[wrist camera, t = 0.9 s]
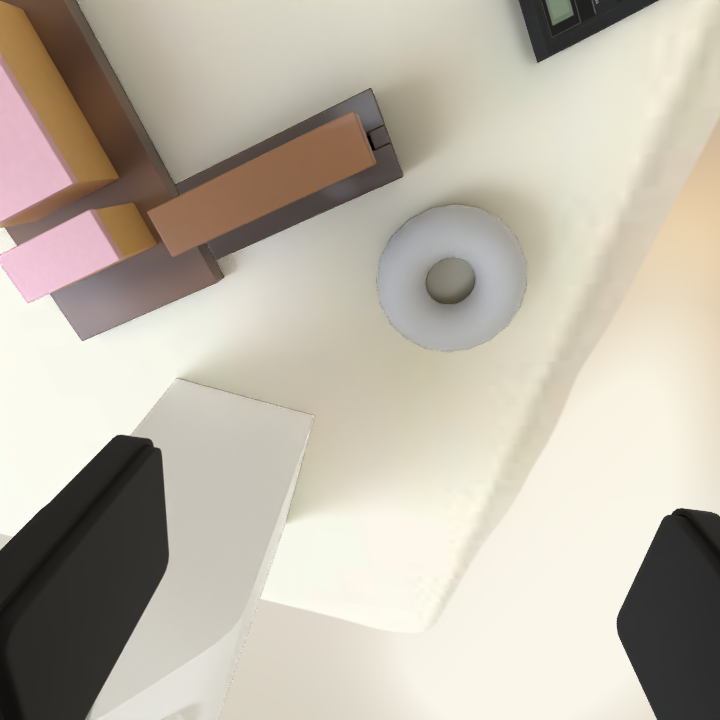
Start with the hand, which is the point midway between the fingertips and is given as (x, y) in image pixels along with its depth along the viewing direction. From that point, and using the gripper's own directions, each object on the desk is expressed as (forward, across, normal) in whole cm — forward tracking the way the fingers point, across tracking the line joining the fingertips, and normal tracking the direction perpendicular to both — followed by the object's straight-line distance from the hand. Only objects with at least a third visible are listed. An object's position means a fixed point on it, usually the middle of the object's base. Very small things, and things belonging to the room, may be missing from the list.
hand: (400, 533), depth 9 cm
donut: (+27, -4, +1) cm, 27 cm away
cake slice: (+25, +20, +1) cm, 32 cm away
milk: (+27, +12, +19) cm, 35 cm away
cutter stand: (+27, +7, -4) cm, 28 cm away
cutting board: (+27, +22, -3) cm, 35 cm away
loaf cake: (+25, +24, -6) cm, 35 cm away
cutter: (+27, +7, -4) cm, 28 cm away
